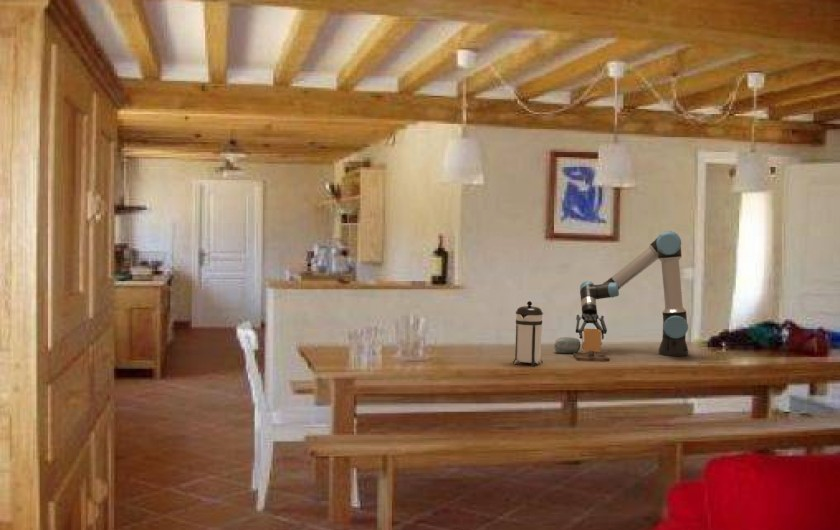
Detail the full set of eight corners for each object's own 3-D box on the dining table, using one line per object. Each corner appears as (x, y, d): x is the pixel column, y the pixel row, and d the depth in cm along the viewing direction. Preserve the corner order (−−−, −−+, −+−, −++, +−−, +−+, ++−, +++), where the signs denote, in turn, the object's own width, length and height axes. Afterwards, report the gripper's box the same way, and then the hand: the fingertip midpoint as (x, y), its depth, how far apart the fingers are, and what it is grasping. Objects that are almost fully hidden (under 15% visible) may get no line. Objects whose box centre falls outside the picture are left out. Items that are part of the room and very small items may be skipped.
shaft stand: (605, 357, 454) (605, 342, 454) (609, 361, 440) (610, 346, 440) (573, 356, 455) (573, 341, 455) (577, 360, 441) (577, 345, 441)
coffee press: (550, 366, 421) (552, 302, 420) (517, 366, 418) (519, 302, 416) (538, 360, 438) (539, 299, 437) (506, 360, 435) (508, 299, 433)
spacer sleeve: (597, 348, 451) (598, 329, 451) (600, 351, 443) (601, 331, 443) (581, 348, 452) (582, 328, 451) (584, 350, 444) (584, 330, 443)
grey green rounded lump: (577, 345, 472) (576, 330, 467) (583, 355, 464) (582, 340, 459) (552, 351, 471) (551, 336, 466) (558, 361, 463) (556, 346, 458)
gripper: (608, 313, 461) (612, 348, 446) (567, 311, 462) (570, 347, 447) (610, 303, 456) (614, 339, 441) (569, 302, 457) (572, 338, 442)
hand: (592, 343), depth 444 cm, fingers closed on spacer sleeve, 8 cm apart
